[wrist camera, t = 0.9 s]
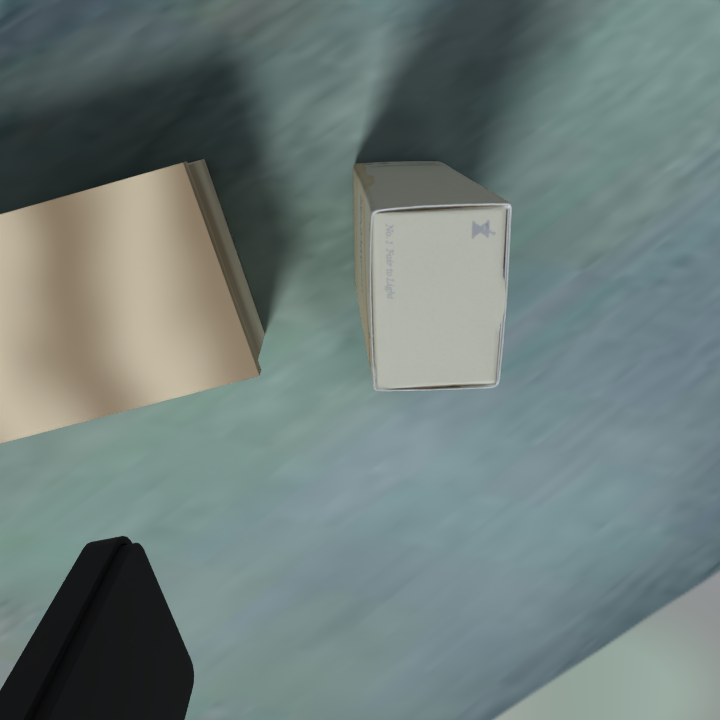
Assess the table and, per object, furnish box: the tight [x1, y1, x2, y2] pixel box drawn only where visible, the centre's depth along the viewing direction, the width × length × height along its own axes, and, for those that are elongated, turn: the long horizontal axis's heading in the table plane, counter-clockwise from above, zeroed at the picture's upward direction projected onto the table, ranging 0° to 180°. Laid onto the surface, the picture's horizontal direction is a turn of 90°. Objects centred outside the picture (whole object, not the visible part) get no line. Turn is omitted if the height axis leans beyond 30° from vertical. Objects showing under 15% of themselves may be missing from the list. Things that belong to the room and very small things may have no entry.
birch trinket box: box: [0, 159, 265, 443], centre depth 29 cm, size 12×9×5 cm
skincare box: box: [353, 161, 512, 391], centre depth 25 cm, size 6×4×12 cm
